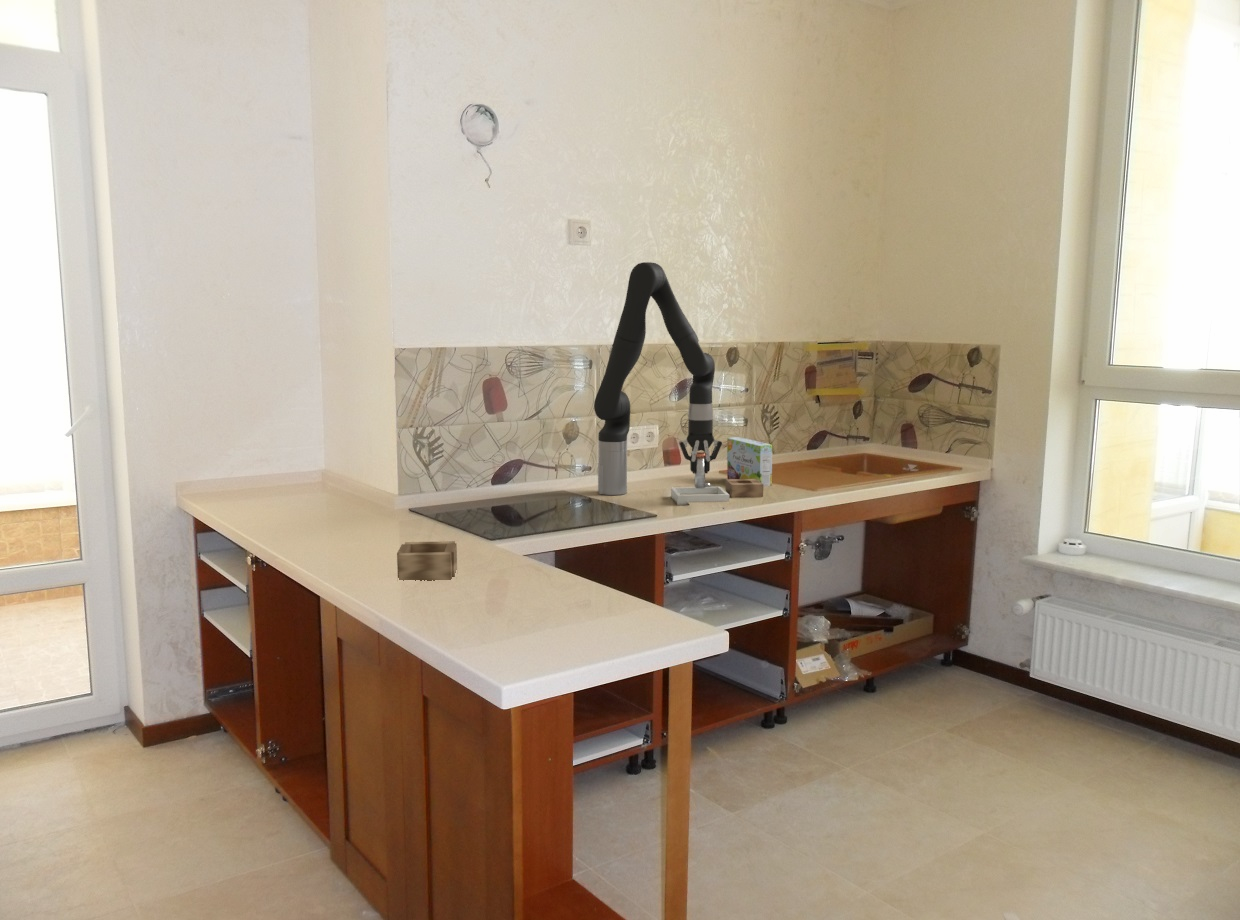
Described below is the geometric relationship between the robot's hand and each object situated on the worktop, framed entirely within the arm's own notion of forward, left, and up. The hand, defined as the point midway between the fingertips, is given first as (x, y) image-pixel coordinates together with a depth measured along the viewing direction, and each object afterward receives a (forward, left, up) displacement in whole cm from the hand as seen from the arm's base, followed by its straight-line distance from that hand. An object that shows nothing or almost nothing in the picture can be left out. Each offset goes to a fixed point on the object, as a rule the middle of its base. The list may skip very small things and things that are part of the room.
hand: (700, 472), depth 299 cm
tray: (0, 0, -9) cm, 9 cm away
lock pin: (0, 0, -5) cm, 5 cm away
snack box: (+22, +28, -9) cm, 37 cm away
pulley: (+4, +10, -9) cm, 14 cm away
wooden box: (+15, +4, -9) cm, 18 cm away
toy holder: (-75, -84, -9) cm, 113 cm away
